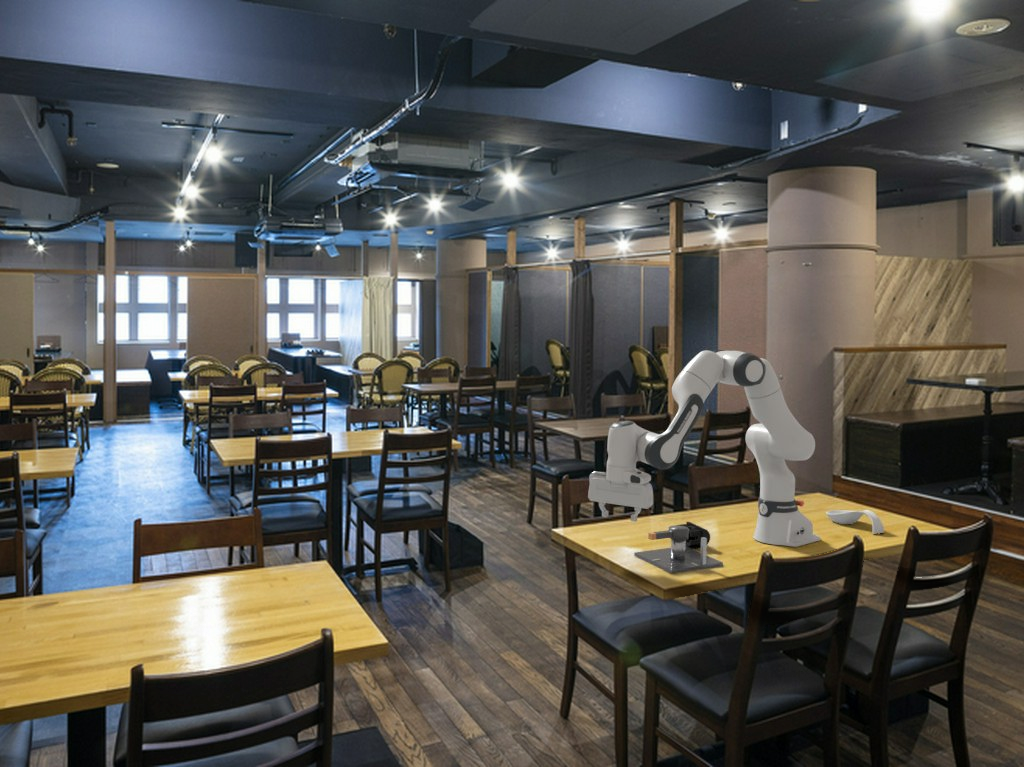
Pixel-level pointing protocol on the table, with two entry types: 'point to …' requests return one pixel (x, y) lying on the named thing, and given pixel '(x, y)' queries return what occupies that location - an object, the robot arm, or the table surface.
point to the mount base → (676, 563)
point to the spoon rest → (856, 518)
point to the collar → (671, 533)
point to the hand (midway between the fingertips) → (619, 518)
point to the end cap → (695, 535)
